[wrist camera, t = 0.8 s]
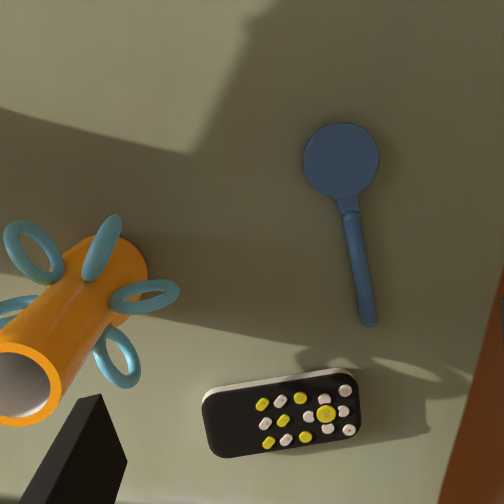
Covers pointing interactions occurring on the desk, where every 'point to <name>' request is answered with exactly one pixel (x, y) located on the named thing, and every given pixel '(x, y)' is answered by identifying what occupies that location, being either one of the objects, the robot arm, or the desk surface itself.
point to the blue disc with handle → (346, 192)
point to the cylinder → (70, 317)
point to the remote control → (281, 412)
